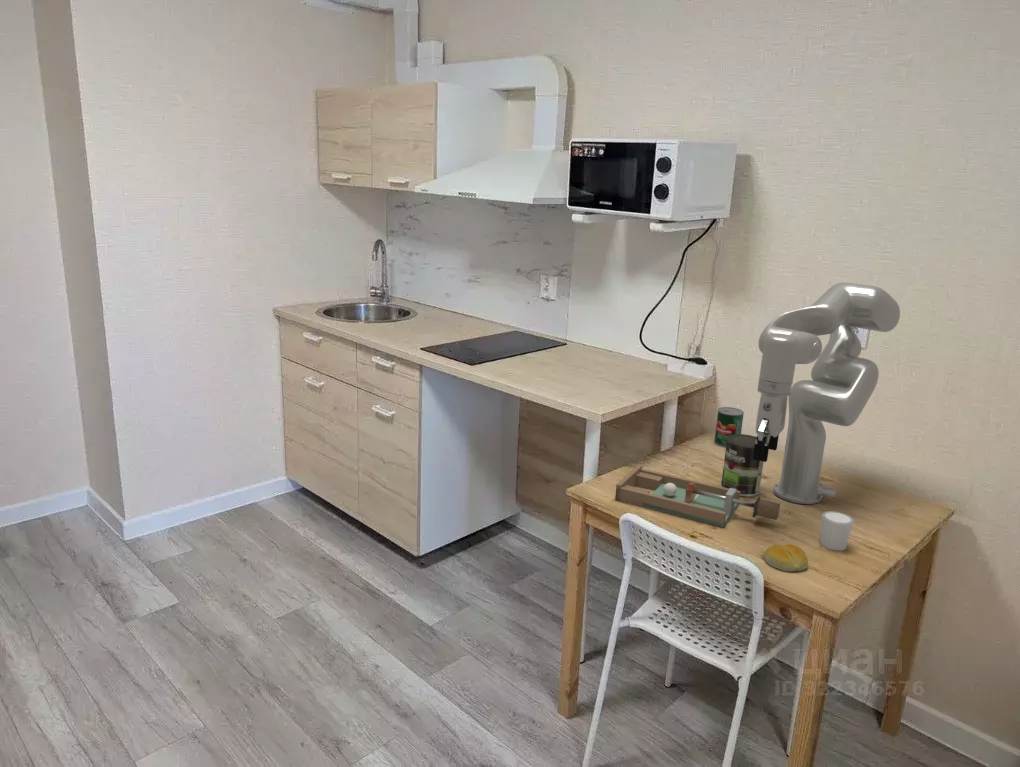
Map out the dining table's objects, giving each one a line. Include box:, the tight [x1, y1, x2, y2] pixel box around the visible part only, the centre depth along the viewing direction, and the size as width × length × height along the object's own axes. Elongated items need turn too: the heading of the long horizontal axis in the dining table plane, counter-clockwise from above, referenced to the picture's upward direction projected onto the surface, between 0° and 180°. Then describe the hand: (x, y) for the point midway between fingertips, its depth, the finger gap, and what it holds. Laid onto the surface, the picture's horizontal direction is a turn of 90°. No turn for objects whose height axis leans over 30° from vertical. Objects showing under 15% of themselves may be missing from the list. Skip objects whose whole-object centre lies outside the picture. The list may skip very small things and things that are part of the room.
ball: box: [663, 483, 677, 496], centre depth 192 cm, size 4×4×4 cm
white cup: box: [819, 510, 855, 551], centre depth 172 cm, size 7×7×7 cm
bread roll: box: [764, 543, 809, 572], centre depth 163 cm, size 8×9×4 cm
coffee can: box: [720, 433, 764, 498], centre depth 200 cm, size 10×10×14 cm
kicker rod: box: [685, 482, 781, 521], centre depth 185 cm, size 22×5×4 cm, turn 60°
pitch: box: [614, 464, 741, 529], centre depth 191 cm, size 28×16×6 cm, turn 60°
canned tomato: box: [714, 406, 745, 448], centre depth 234 cm, size 8×8×11 cm
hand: (764, 454), depth 179 cm, fingers open, 9 cm apart
